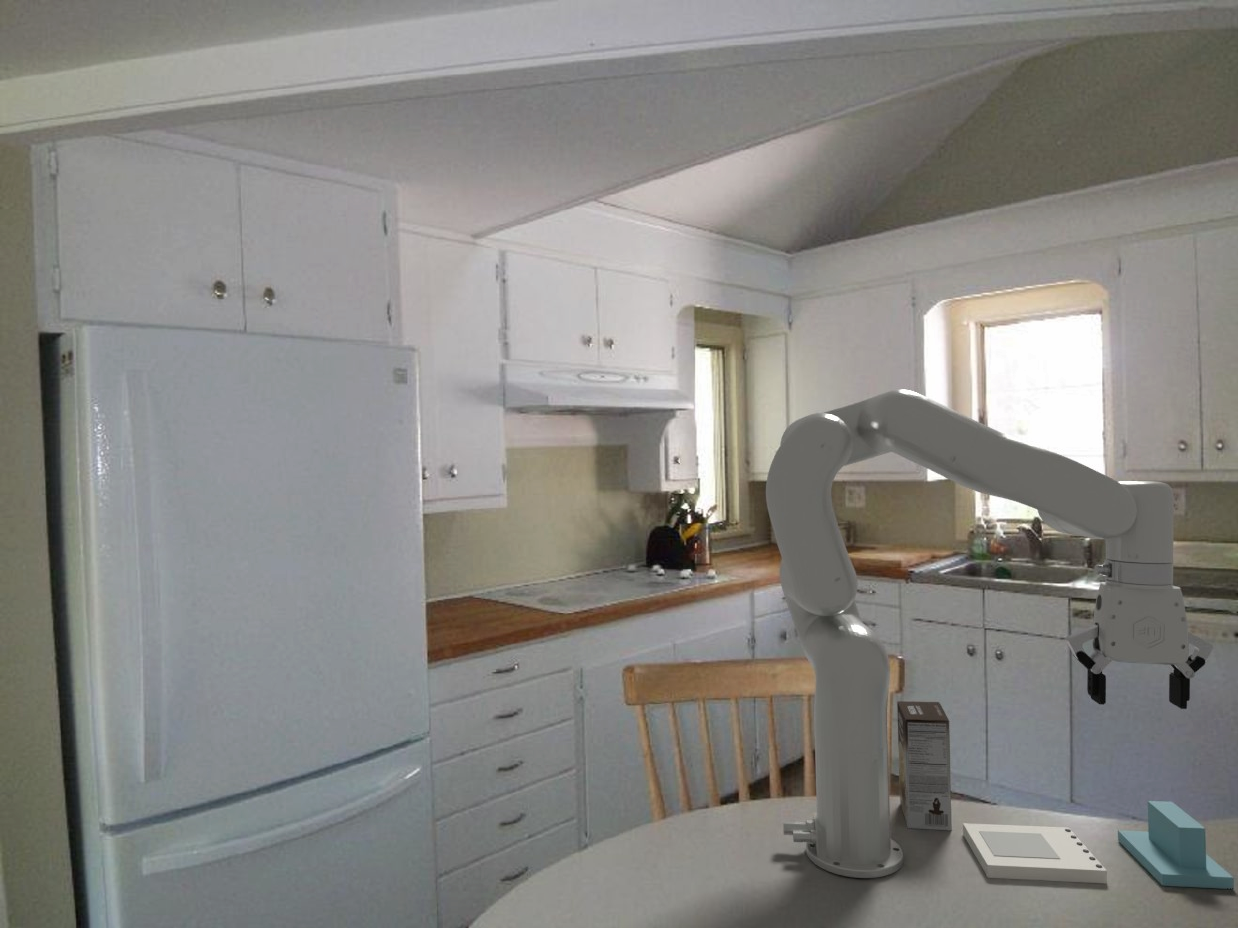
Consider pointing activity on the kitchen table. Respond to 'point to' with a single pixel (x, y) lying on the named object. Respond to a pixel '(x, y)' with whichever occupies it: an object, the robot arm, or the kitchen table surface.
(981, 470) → the robot arm
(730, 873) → the kitchen table surface
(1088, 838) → the kitchen table surface
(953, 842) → the kitchen table surface
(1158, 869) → the stub
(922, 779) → the coffee box
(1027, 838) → the white notebook
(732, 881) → the kitchen table surface
